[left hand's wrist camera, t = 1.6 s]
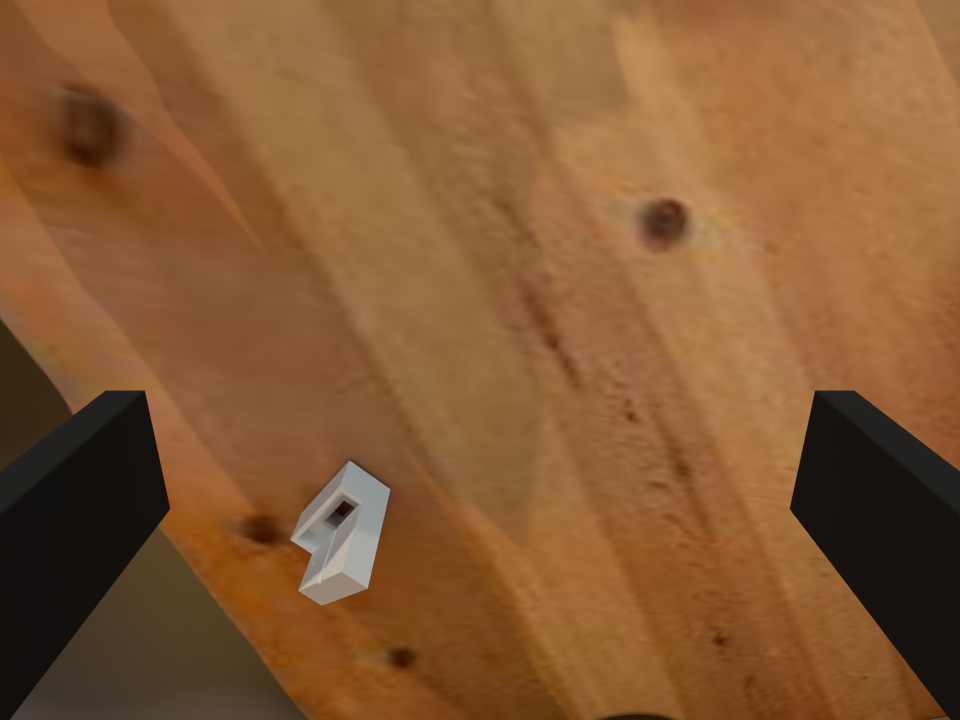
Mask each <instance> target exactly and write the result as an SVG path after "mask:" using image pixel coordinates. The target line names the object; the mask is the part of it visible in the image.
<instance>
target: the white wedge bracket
mask: <svg viewBox="0 0 960 720" xmlns="http://www.w3.org/2000/svg"><path fill="white" fill-rule="evenodd" d="M389 494H390V489H389V488H388V487H386V486H385V485H384V484H382V483H381V482H379V481H378V480H376V479H375V478H374V477H372V476H371V475H369V474H368V473H367V472H365V471H364V470H362V469H361V468H360V467H358V466H357V465H355V464H354V463H352V462H351V461H350V460H349V461H348V463H347V464H346V465H345V466H344V467H343V468H342V469H341V470H340V471H339V472H338V474H337V475H336V476H335V477H334V478H333V479H332V480H331V481H330V482H329V483H328V484H327V486H326V487H325V488H324V489H323V490H322V491H321V492H320V493H319V494H318V495H317V497H316V498H315V499H314V500H313V501H312V502H311V503H310V504H309V505H308V506H307V508H306V509H305V510H304V511H303V512H302V514H301V516H300V519H299V521H298V523H297V525H296V528H295V530H294V532H293V535H292V537H291V539H290V540H291V541H293V542H295V543H296V544H298V545H299V546H301V547H302V548H304V549H305V550H307V551H308V552H310V553H311V554H312V556H311V559H310V561H309V564H308V567H307V569H306V572H305V575H304V577H303V580H302V583H301V586H300V588H299V592H301V593H302V594H304V595H306V596H307V597H309V598H310V599H312V600H314V601H315V602H317V603H318V604H320V605H321V606H322V605H325V604H328V603H330V602H333V601H336V600H338V599H341V598H344V597H346V596H349V595H352V594H354V593H357V592H360V591H362V590H365V589H368V584H369V580H370V576H371V571H372V567H373V563H374V558H375V554H376V550H377V545H378V541H379V537H380V533H381V528H382V524H383V520H384V515H385V511H386V507H387V502H388V498H389ZM343 501H346V502H347V503H349V504H350V505H352V508H351V509H350V510H349V511H348V512H347V513H346V514H345V515H344V516H341V515H340V514H338V513H337V512H335V510H336V509H337V507H338V506H339V505H340V504H341V503H342V502H343Z"/></svg>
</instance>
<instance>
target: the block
mask: <svg viewBox="0 0 960 720" xmlns="http://www.w3.org/2000/svg"><path fill="white" fill-rule="evenodd" d="M930 720H950V719H949V717H948V716H946V717H940V718H935V719H930Z"/></svg>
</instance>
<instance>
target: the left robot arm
mask: <svg viewBox="0 0 960 720" xmlns="http://www.w3.org/2000/svg"><path fill="white" fill-rule="evenodd" d="M169 510H170V505H169V501H168V496H167V491H166V487H165V482H164V478H163V473H162V468H161V464H160V459H159V454H158V450H157V445H156V440H155V436H154V431H153V426H152V422H151V417H150V413H149V408H148V403H147V399H146V394H145V391H104V392H103V393H102V394H101V395H99V396H98V397H97V398H95V399H94V400H93V401H91V402H90V403H89V404H88V405H86V406H85V407H84V408H82V409H81V410H80V411H78V412H77V413H76V414H75V415H73V416H72V417H71V418H69V419H68V420H67V421H65V422H64V423H63V424H62V425H60V426H59V427H58V428H56V429H55V430H54V431H53V432H51V433H50V434H49V435H47V436H46V437H45V438H43V439H42V440H41V441H39V442H38V443H37V444H36V445H34V446H33V447H32V448H30V449H29V450H28V451H26V452H25V453H24V454H23V455H21V456H20V457H19V458H17V459H16V460H15V461H13V462H12V463H11V464H10V465H8V466H7V467H6V468H4V469H3V470H2V471H1V472H0V720H10V719H11V717H12V716H13V715H14V713H15V712H16V711H17V709H18V708H19V707H20V705H21V704H22V703H23V701H24V700H25V699H26V697H27V696H28V695H29V694H30V692H31V691H32V690H33V688H34V687H35V686H36V684H37V683H38V682H39V680H40V679H41V678H42V677H43V675H44V674H45V673H46V671H47V670H48V669H49V667H50V666H51V665H52V663H53V662H54V661H55V660H56V658H57V657H58V656H59V654H60V653H61V652H62V650H63V649H64V648H65V646H66V645H67V644H68V642H69V641H70V640H71V638H72V637H73V636H74V635H75V633H76V632H77V631H78V629H79V628H80V627H81V625H82V624H83V623H84V621H85V620H86V619H87V618H88V616H89V615H90V614H91V612H92V611H93V610H94V608H95V607H96V606H97V604H98V603H99V602H100V600H101V599H102V598H103V597H104V595H105V594H106V593H107V591H108V590H109V589H110V587H111V586H112V585H113V583H114V582H115V581H116V579H117V578H118V577H119V576H120V574H121V573H122V572H123V570H124V569H125V568H126V566H127V565H128V564H129V562H130V561H131V560H132V558H133V557H134V556H135V555H136V553H137V552H138V551H139V549H140V548H141V547H142V545H143V544H144V543H145V541H146V540H147V539H148V537H149V536H150V535H151V534H152V532H153V531H154V530H155V528H156V527H157V526H158V524H159V523H160V522H161V520H162V519H163V518H164V517H165V515H166V514H167V513H168V511H169ZM790 510H791V511H792V513H793V514H794V515H795V517H796V518H797V519H798V520H799V522H800V523H801V524H802V526H803V527H804V528H805V530H806V531H807V532H808V534H809V535H810V536H811V538H812V539H813V540H814V541H815V543H816V544H817V545H818V547H819V548H820V549H821V551H822V552H823V553H824V555H825V556H826V557H827V559H828V560H829V561H830V562H831V564H832V565H833V566H834V568H835V569H836V570H837V572H838V573H839V574H840V576H841V577H842V578H843V580H844V581H845V582H846V583H847V585H848V586H849V587H850V589H851V590H852V591H853V593H854V594H855V595H856V597H857V598H858V599H859V600H860V602H861V603H862V604H863V606H864V607H865V608H866V610H867V611H868V612H869V614H870V615H871V616H872V618H873V619H874V620H875V621H876V623H877V624H878V625H879V627H880V628H881V629H882V631H883V632H884V633H885V635H886V636H887V637H888V639H889V640H890V641H891V642H892V644H893V645H894V646H895V648H896V649H897V650H898V652H899V653H900V654H901V656H902V657H903V658H904V660H905V661H906V662H907V663H908V665H909V666H910V667H911V669H912V670H913V671H914V673H915V674H916V675H917V677H918V678H919V679H920V681H921V682H922V683H923V684H924V686H925V687H926V688H927V690H928V691H929V692H930V694H931V695H932V696H933V698H934V699H935V700H936V701H937V703H938V704H939V705H940V707H941V708H942V709H943V711H944V712H945V713H946V715H947V716H948V717H949V719H950V720H960V471H958V470H957V469H956V468H954V467H953V466H952V465H950V464H949V463H948V462H947V461H945V460H944V459H943V458H941V457H940V456H939V455H937V454H936V453H935V452H934V451H932V450H931V449H930V448H928V447H927V446H926V445H924V444H923V443H922V442H921V441H919V440H918V439H917V438H915V437H914V436H913V435H911V434H910V433H909V432H908V431H906V430H905V429H904V428H902V427H901V426H900V425H898V424H897V423H896V422H895V421H893V420H892V419H891V418H889V417H888V416H887V415H885V414H884V413H883V412H882V411H880V410H879V409H878V408H876V407H875V406H874V405H872V404H871V403H870V402H869V401H867V400H866V399H865V398H863V397H862V396H861V395H859V394H858V393H857V392H856V391H815V394H814V399H813V403H812V408H811V413H810V417H809V422H808V426H807V431H806V436H805V440H804V445H803V450H802V454H801V459H800V464H799V468H798V473H797V478H796V482H795V487H794V491H793V496H792V501H791V505H790ZM604 720H670V719H667V718H663V717H657V716H649V715H625V716H618V717H612V718H608V719H604Z"/></svg>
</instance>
